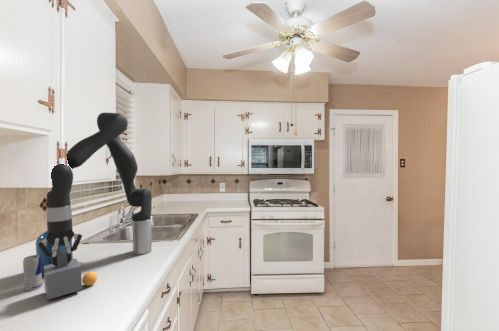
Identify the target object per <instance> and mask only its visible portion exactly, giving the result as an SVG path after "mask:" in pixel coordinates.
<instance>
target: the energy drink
mask: <svg viewBox="0 0 499 331" xmlns="http://www.w3.org/2000/svg"><path fill="white" fill-rule="evenodd" d="M22 266H23V286H24V287H23V288H24V291H27V292H31V291H35V290H38V289H40V288H41V287H42V286H43V277H42V270H41V257H40V255H36V254H34V255H33V254H32V255H29V256H26V257H24V258H23V261H22Z"/></svg>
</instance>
